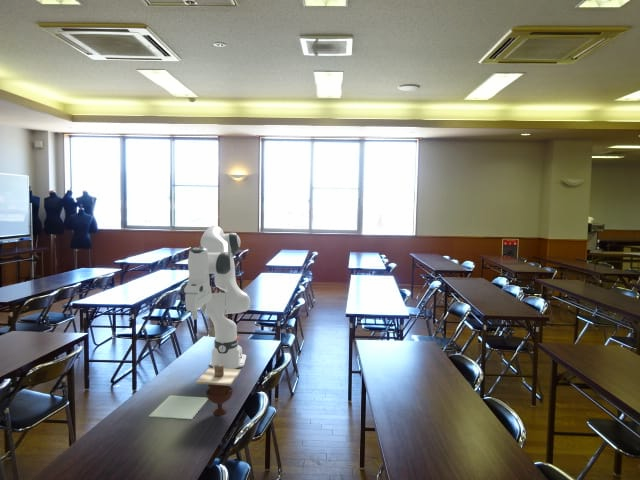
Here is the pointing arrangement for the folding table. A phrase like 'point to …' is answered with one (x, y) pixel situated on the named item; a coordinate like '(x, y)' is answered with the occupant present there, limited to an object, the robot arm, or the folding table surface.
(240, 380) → the folding table surface
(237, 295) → the robot arm
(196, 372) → the folding table surface
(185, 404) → the lid mat
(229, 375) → the lid
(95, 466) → the folding table surface
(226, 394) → the ice cream bowl
